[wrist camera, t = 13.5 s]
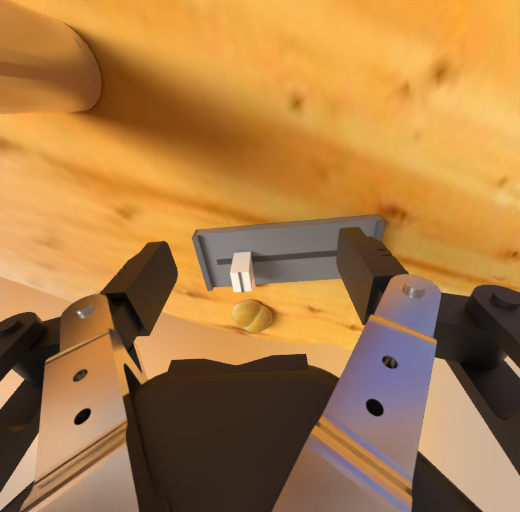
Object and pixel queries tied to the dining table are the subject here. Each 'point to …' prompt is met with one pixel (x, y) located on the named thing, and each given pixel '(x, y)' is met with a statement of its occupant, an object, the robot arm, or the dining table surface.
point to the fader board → (279, 249)
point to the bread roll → (252, 316)
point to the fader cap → (242, 272)
